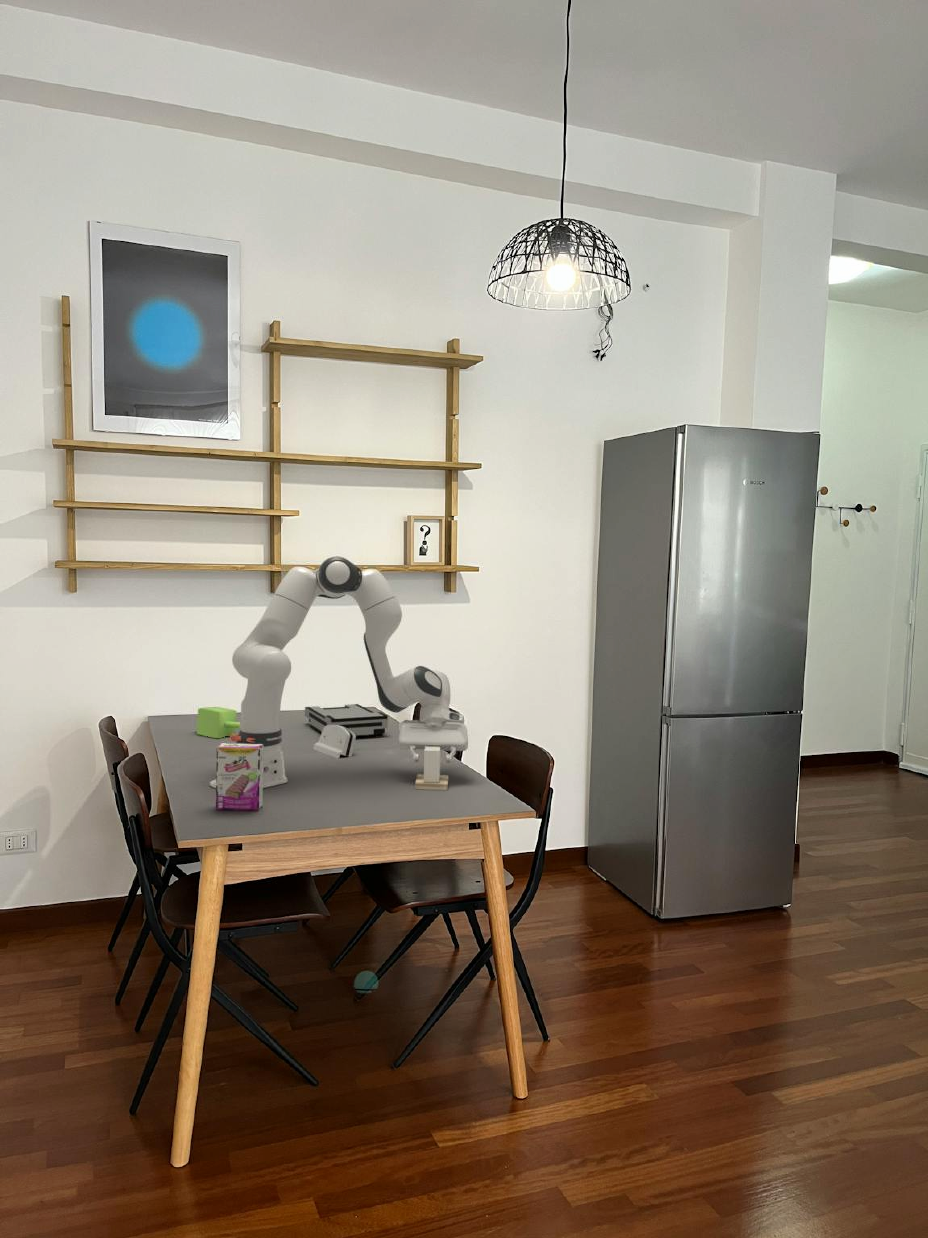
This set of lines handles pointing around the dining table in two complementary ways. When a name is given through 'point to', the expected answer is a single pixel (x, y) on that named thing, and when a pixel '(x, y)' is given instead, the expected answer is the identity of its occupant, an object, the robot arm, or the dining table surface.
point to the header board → (431, 783)
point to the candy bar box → (239, 776)
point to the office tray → (348, 719)
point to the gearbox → (216, 722)
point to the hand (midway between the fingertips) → (432, 761)
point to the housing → (432, 763)
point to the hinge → (336, 741)
